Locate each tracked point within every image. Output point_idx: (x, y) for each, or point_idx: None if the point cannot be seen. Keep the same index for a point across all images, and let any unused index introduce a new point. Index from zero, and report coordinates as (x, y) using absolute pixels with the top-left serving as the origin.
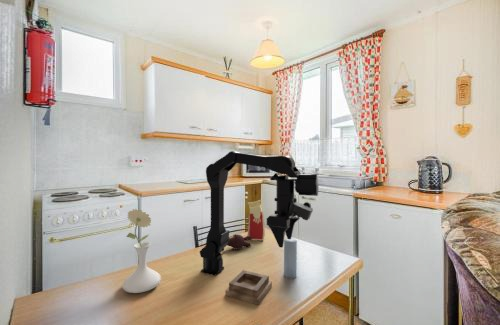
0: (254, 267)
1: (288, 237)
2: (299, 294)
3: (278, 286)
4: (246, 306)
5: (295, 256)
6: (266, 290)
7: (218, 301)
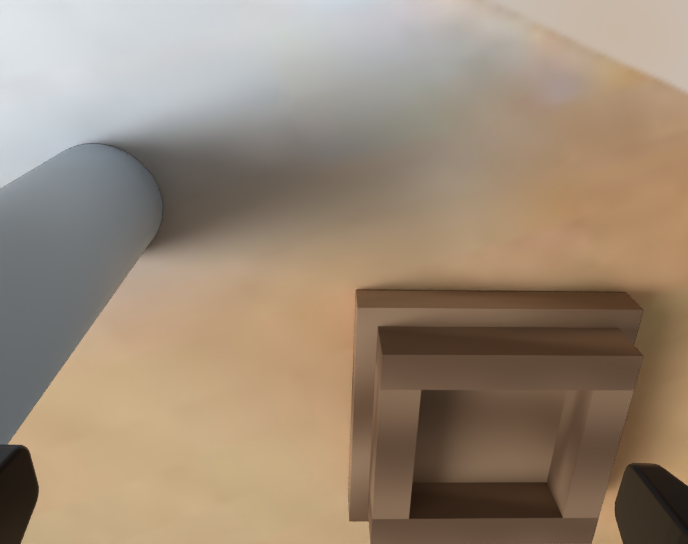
0: (144, 487)
1: (21, 507)
2: (386, 42)
3: (336, 242)
4: (656, 351)
5: (19, 218)
6: (480, 302)
7: None
